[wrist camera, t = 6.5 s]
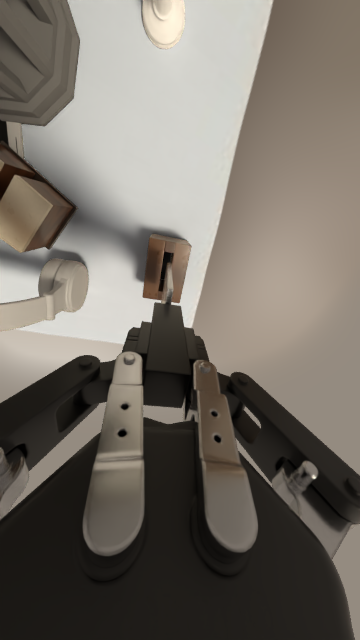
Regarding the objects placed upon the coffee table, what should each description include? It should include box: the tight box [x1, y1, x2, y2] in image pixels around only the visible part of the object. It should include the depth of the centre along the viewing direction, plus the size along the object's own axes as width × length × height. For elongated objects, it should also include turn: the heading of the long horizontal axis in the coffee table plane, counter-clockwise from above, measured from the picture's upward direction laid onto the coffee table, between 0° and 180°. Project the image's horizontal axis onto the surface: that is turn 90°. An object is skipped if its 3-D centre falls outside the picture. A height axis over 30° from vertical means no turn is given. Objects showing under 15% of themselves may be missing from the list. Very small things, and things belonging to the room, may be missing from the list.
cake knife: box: [143, 262, 191, 408], centre depth 18 cm, size 5×2×18 cm, turn 169°
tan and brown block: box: [0, 141, 78, 253], centre depth 27 cm, size 9×11×7 cm
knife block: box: [143, 234, 191, 303], centre depth 33 cm, size 9×6×7 cm, turn 169°
